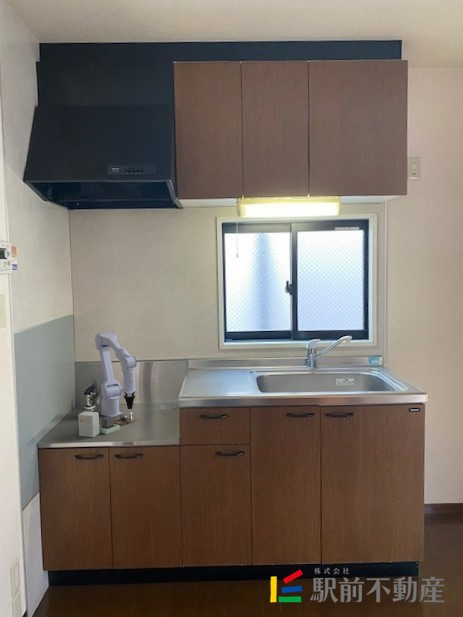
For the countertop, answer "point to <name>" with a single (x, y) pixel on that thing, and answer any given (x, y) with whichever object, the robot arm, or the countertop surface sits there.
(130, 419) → the crank
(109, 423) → the block
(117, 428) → the tray
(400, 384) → the countertop surface
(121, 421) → the crank base
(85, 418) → the small box
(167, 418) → the countertop surface
